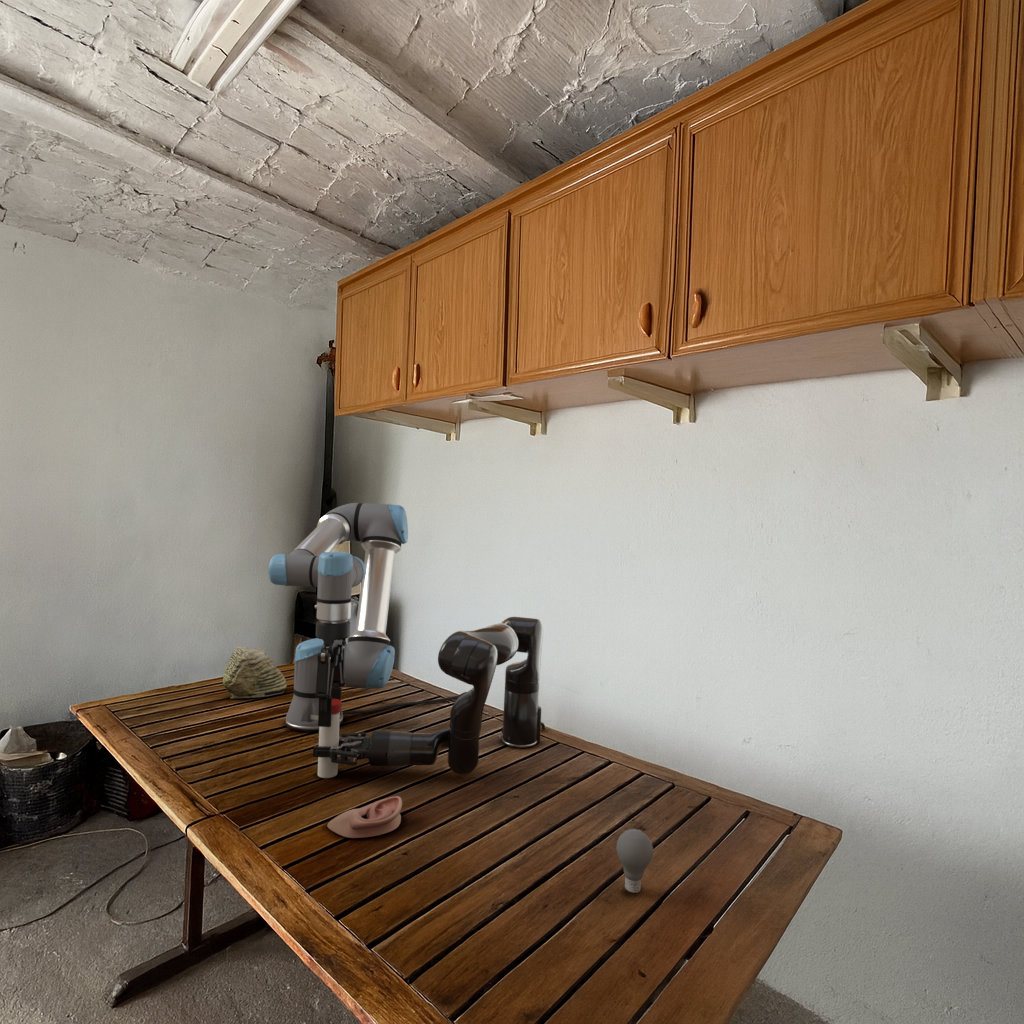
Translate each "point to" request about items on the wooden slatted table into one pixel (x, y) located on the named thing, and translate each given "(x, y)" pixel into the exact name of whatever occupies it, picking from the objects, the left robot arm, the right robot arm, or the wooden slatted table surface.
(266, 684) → the fossil
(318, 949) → the wooden slatted table surface
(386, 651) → the left robot arm
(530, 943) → the wooden slatted table surface
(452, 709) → the right robot arm
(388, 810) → the anatomical model
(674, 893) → the wooden slatted table surface
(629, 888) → the light bulb
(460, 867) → the wooden slatted table surface
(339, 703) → the lid
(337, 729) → the white bottle
